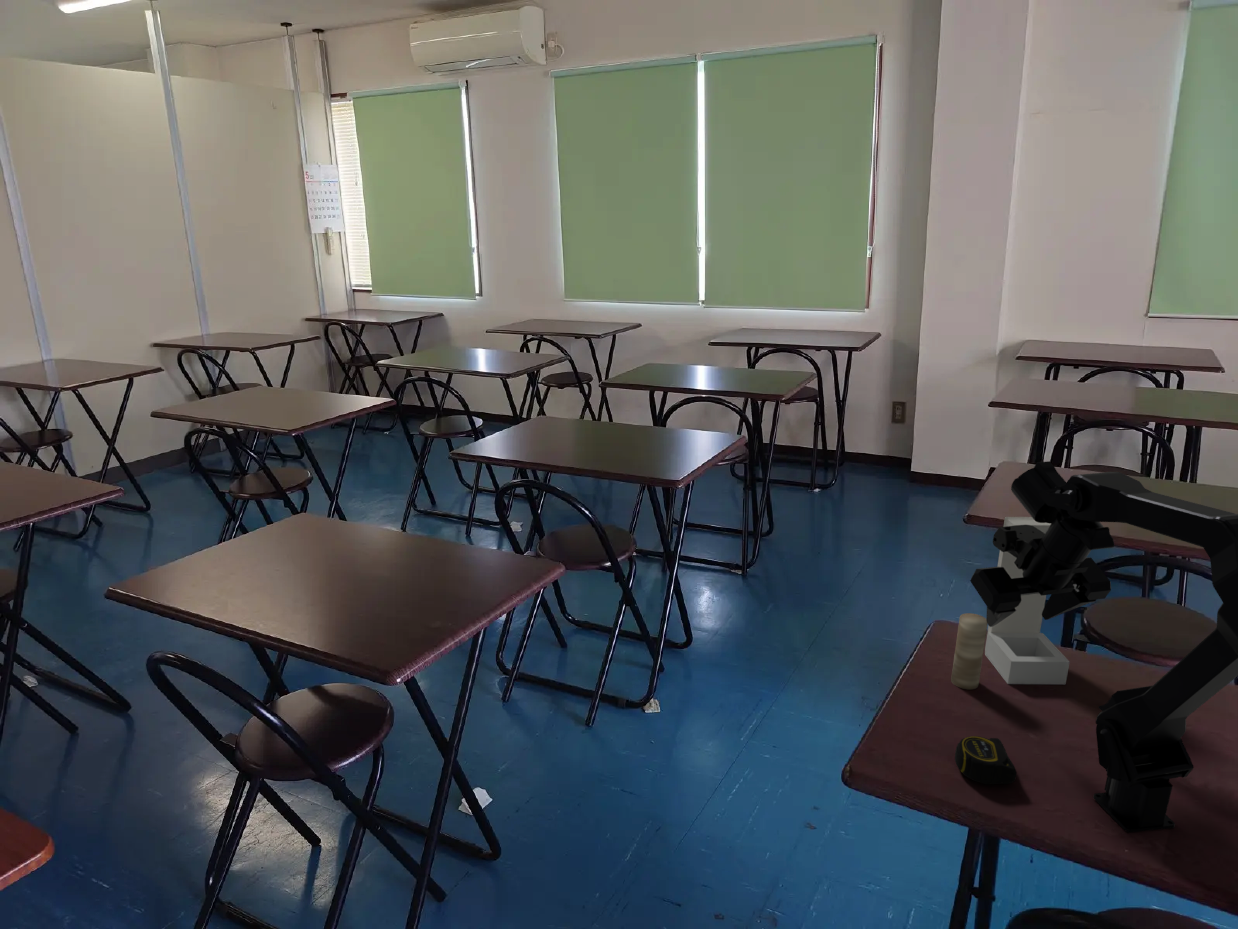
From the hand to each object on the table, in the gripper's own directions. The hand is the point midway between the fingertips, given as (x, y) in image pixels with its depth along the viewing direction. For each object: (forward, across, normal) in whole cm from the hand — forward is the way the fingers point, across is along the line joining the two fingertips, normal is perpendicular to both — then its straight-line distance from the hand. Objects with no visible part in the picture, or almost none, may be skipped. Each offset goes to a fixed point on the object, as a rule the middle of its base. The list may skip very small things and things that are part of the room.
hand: (1016, 620), depth 124 cm
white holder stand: (+16, -9, -1) cm, 18 cm away
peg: (+15, +2, 0) cm, 15 cm away
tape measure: (+7, +13, +18) cm, 23 cm away
